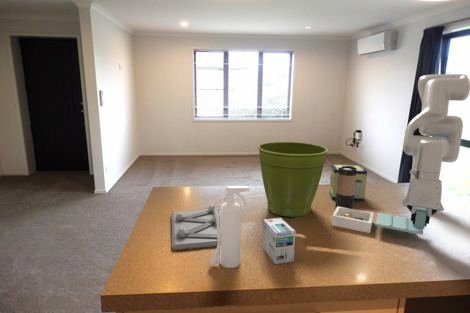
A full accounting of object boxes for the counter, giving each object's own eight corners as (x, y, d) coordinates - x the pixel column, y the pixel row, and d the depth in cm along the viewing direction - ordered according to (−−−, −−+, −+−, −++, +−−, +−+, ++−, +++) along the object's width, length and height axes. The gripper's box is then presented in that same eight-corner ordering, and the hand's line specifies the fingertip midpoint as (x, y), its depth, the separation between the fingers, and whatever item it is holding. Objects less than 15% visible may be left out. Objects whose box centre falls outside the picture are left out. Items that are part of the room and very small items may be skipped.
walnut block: (353, 224, 122) (354, 217, 121) (362, 225, 121) (362, 218, 120) (355, 227, 119) (355, 220, 118) (363, 228, 118) (364, 221, 118)
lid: (377, 214, 123) (379, 198, 121) (422, 222, 116) (425, 205, 114) (375, 225, 112) (377, 208, 111) (424, 235, 105) (427, 216, 104)
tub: (336, 217, 131) (337, 206, 130) (372, 224, 124) (373, 212, 123) (331, 227, 121) (332, 215, 120) (369, 235, 115) (371, 223, 114)
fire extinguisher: (204, 260, 97) (207, 185, 91) (240, 254, 102) (244, 182, 96) (211, 272, 91) (214, 192, 85) (248, 265, 96) (253, 189, 90)
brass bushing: (344, 219, 127) (345, 212, 126) (352, 220, 125) (352, 213, 125) (343, 221, 124) (343, 214, 123) (351, 223, 123) (351, 216, 122)
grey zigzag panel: (171, 216, 131) (170, 201, 129) (220, 213, 135) (220, 197, 134) (172, 253, 102) (171, 233, 101) (235, 246, 107) (235, 227, 105)
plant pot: (294, 230, 118) (299, 158, 112) (242, 207, 140) (243, 146, 134) (336, 211, 137) (341, 148, 131) (284, 193, 159) (287, 139, 153)
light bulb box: (294, 261, 97) (296, 230, 95) (274, 265, 95) (276, 233, 93) (280, 245, 107) (281, 216, 105) (262, 248, 105) (263, 218, 103)
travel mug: (354, 215, 133) (358, 170, 129) (335, 213, 134) (339, 169, 130) (351, 208, 140) (355, 166, 136) (333, 207, 142) (337, 165, 137)
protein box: (328, 192, 162) (330, 164, 158) (359, 194, 159) (362, 165, 156) (331, 199, 151) (334, 169, 148) (364, 201, 149) (368, 170, 146)
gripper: (400, 174, 108) (393, 223, 111) (456, 181, 100) (447, 233, 104) (400, 169, 114) (394, 216, 118) (453, 175, 107) (444, 225, 110)
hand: (419, 223), depth 111 cm, fingers closed on lid, 3 cm apart
